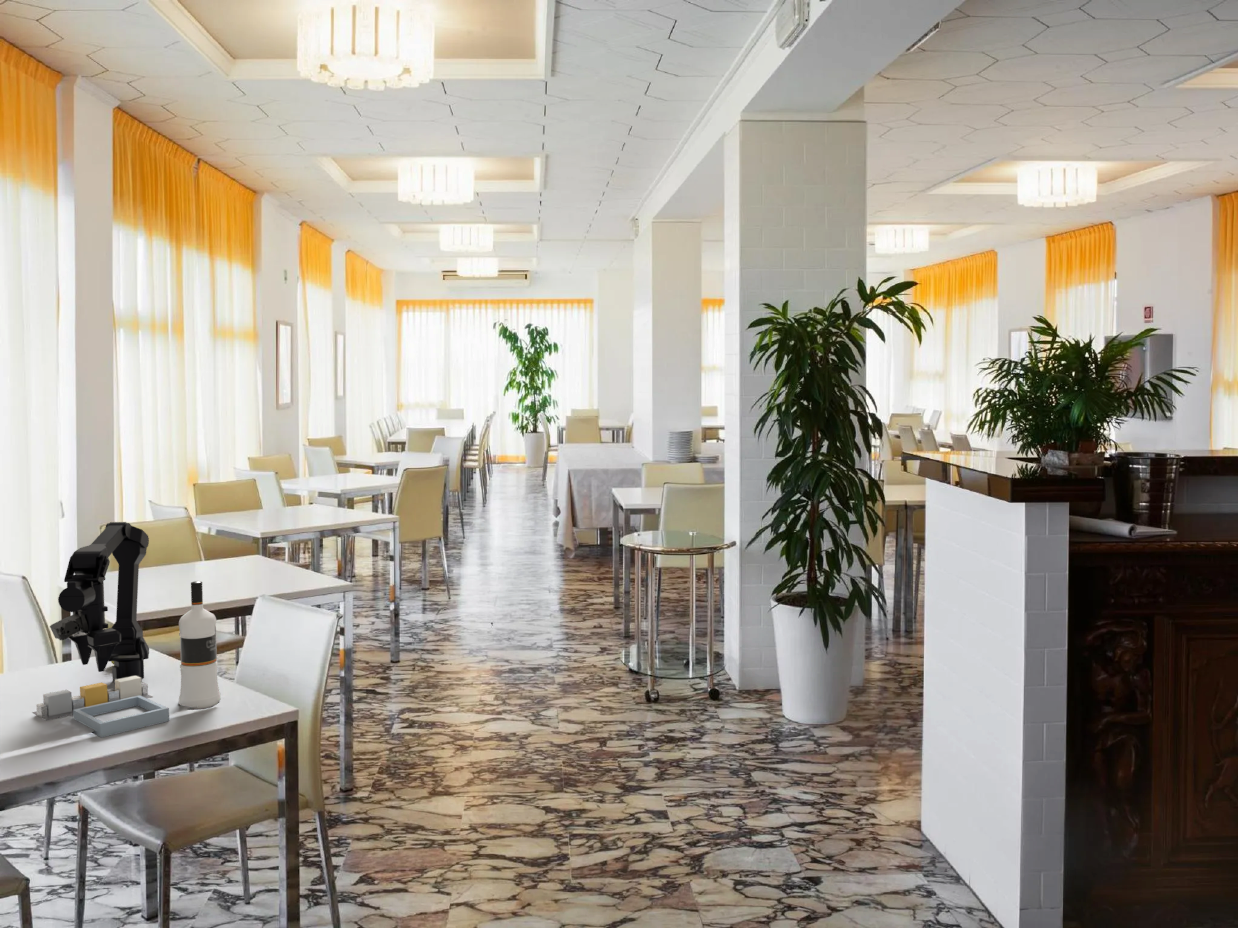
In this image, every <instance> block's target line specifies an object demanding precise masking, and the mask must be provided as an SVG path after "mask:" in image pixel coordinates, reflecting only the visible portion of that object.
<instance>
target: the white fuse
mask: <svg viewBox="0 0 1238 928" xmlns="http://www.w3.org/2000/svg"><path fill="white" fill-rule="evenodd" d="M141 682H142V678H141V677H138V676H131V677H126V678H121V679H116V680H115V682H114V688H115V689H117V690H119V700H121V699H125V698H130V697H134V696H139V695H140V696H142V689H141Z"/></svg>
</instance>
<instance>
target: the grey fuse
mask: <svg viewBox="0 0 1238 928" xmlns="http://www.w3.org/2000/svg"><path fill="white" fill-rule="evenodd" d="M42 696H43V698H42V700H43V704H45V705H47V715H48V716H52V715H57V714H61V713H66V712H70V711H72V697H73V695H72V691H70V690H68V689H62V690H58V691H52V692H48V693H43V695H42Z"/></svg>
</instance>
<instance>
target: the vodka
mask: <svg viewBox="0 0 1238 928" xmlns="http://www.w3.org/2000/svg"><path fill="white" fill-rule="evenodd" d="M203 596H204V595H203V581H199V580H194V581H192V582H190V598H191V599H190V601H191V609H190V610H188V611H187V612H186V613H184V614H183V615H182V616H180V618H179V621H178V629H179V633H178V634H179V641H180V642H179V643H180V646H179V647H180V665H179V669H180V692H179V695H178V705H180V706H182V707H190V708H188V710H189V711H190V710H192V711H193V710H205V709H209V708H212V707H214V706H217V704H219V703H220V700H221V692H220V687H219V682H218V680H219V679H218V664H219V663H218V661H217V660H218V659H217V658H218V657H217V655H218V654H217V653H218V652H217V651H218V650H217V627H216V626H217V617H216V615H215V614H214V613H212V612H210V611H209V610H208V609H205V608H204V602H203V601H204V599H203V598H204V597H203Z"/></svg>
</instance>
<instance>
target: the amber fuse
mask: <svg viewBox="0 0 1238 928" xmlns="http://www.w3.org/2000/svg"><path fill="white" fill-rule="evenodd" d="M107 689H108V684H107V683H104V682H103V681H102V682H98V683H92V684H88V685H87V684H86V685H82V686H79V696H81V697H83V698H84V707H89V706H93V705H98V704H102V703H107V702H108V695H107Z"/></svg>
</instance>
